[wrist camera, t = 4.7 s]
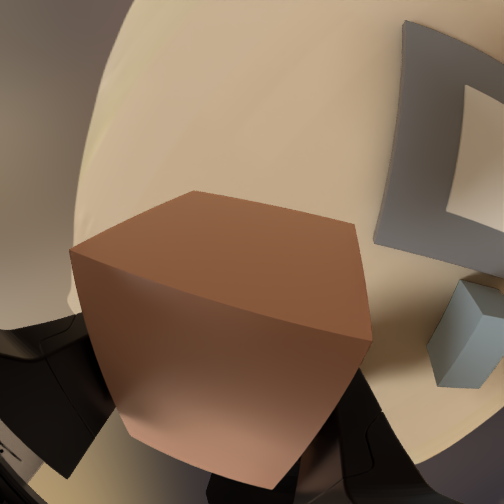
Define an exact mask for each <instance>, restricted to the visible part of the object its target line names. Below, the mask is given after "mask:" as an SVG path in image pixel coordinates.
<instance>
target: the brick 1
mask: <svg viewBox="0 0 504 504" xmlns="http://www.w3.org/2000/svg"><path fill="white" fill-rule="evenodd" d="M69 253H70V258H71V264H72V270H73V275H74V279H75V284H76V289H77V293H78V297H79V301H80V305H81V309H82V313H83V317H84V320H85V324H86V327H87V330H88V334H89V337H90V340H91V343H92V346H93V349H94V352H95V355H96V358H97V361H98V364H99V366H100V369H101V372H102V374H103V377H104V379H105V382H106V384H107V387H108V389H109V392H110V394H111V396H112V399H113V401H114V403H115V405H116V407H117V410H118V411H119V414H120V416H121V418H122V420H123V422H124V424H125V426H126V428H127V430H128V432H129V434H130V436H132V437H134V438H136V439H138V440H140V441H141V442H143V443H145V444H147V445H149V446H151V447H153V448H155V449H157V450H159V451H161V452H163V453H166V454H168V455H170V456H172V457H174V458H176V459H179V460H181V461H184V462H186V463H188V464H191V465H193V466H196V467H198V468H201V469H204V470H206V471H209V472H212V473H215V474H218V475H221V476H224V477H227V478H230V479H233V480H236V481H240V482H243V483H247V484H251V485H254V486H258V487H262V488H267V489H271V490H272V489H273V488H274V487H275V486H276V485H277V484H278V483H279V481H280V480H281V479H282V478H283V477H284V476H285V474H286V473H287V472H288V471H289V470H290V468H291V467H292V466H293V465H294V464H295V462H296V461H297V460H298V458H299V457H300V456H301V455H302V453H303V452H304V451H305V449H306V448H307V447H308V445H309V444H310V443H311V441H312V440H313V439H314V437H315V436H316V435H317V433H318V432H319V430H320V429H321V427H322V426H323V425H324V423H325V422H326V420H327V419H328V417H329V416H330V414H331V413H332V411H333V410H334V408H335V407H336V405H337V403H338V402H339V400H340V399H341V397H342V395H343V394H344V392H345V390H346V389H347V387H348V385H349V384H350V382H351V380H352V379H353V377H354V375H355V373H356V372H357V370H358V368H359V366H360V365H361V363H362V361H363V359H364V357H365V355H366V353H367V351H368V350H369V348H370V346H371V344H372V342H373V338H372V328H371V320H370V311H369V304H368V297H367V290H366V283H365V277H364V271H363V265H362V260H361V254H360V249H359V244H358V239H357V234H356V229H355V225H354V224H351V223H347V222H343V221H339V220H335V219H331V218H326V217H322V216H318V215H314V214H309V213H305V212H300V211H296V210H291V209H287V208H282V207H277V206H273V205H268V204H263V203H258V202H253V201H248V200H243V199H238V198H233V197H227V196H222V195H216V194H211V193H205V192H199V191H191V192H189V193H186V194H184V195H182V196H179V197H177V198H175V199H172V200H170V201H168V202H165V203H163V204H161V205H159V206H156V207H154V208H152V209H150V210H147V211H145V212H143V213H141V214H139V215H137V216H134V217H132V218H130V219H128V220H126V221H124V222H122V223H120V224H118V225H116V226H114V227H112V228H109V229H107V230H105V231H103V232H102V233H100V234H98V235H96V236H94V237H92V238H90V239H88V240H86V241H84V242H82V243H80V244H78V245H77V246H75V247H73V248H71V249H69Z"/></svg>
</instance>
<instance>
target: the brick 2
mask: <svg viewBox="0 0 504 504" xmlns="http://www.w3.org/2000/svg"><path fill="white" fill-rule="evenodd" d="M427 350H428V353H429V357H430V360H431V364H432V368H433V372H434V376H435V380H436V384H437V387H451V388H475V389H479V388H480V387H481V386H482V384H483V383H484V382H485V381H486V379H487V378H488V377H489V375H490V374H491V373H492V371H493V370H494V369H495V367H496V366H497V364H498V363H499V361H500V360H501V359H502V357H503V356H504V295H503V294H502V293H501V291H500V290H498V289H494V288H491V287H487V286H483V285H479V284H476V283H472V282H468V281H464V280H459V282H458V285H457V287H456V289H455V292H454V294H453V296H452V298H451V300H450V303H449V305H448V307H447V309H446V311H445V313H444V315H443V317H442V319H441V321H440V323H439V325H438V326H437V328H436V330H435V332H434V334H433V336H432V337H431V339H430V341H429V343H428V344H427Z"/></svg>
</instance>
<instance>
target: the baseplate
mask: <svg viewBox="0 0 504 504" xmlns="http://www.w3.org/2000/svg"><path fill="white" fill-rule="evenodd" d="M373 242H374V244H377V245H382V246H386V247H390V248H394V249H398V250H402V251H406V252H410V253H414V254H418V255H421V256H425V257H429V258H433V259H437V260H440V261H444V262H448V263H452V264H455V265H459V266H462V267H466V268H469V269H473V270H476V271H480V272H483V273H487V274H490V275H494V276H497V277H500V278H504V64H502V63H501V62H499V61H497V60H496V59H494V58H492V57H490V56H489V55H487V54H485V53H483V52H481V51H479V50H477V49H475V48H474V47H472V46H470V45H467V44H465V43H463V42H461V41H459V40H457V39H455V38H452V37H450V36H448V35H445V34H443V33H440V32H438V31H435V30H433V29H430V28H427V27H425V26H422V25H419V24H416V23H413V22H410V21H407V20H405V22H404V23H403V25H402V66H401V81H400V93H399V103H398V112H397V120H396V128H395V135H394V141H393V148H392V153H391V159H390V165H389V170H388V175H387V180H386V185H385V190H384V194H383V199H382V203H381V207H380V212H379V216H378V220H377V224H376V228H375V231H374V235H373Z"/></svg>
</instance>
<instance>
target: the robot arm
mask: <svg viewBox="0 0 504 504" xmlns="http://www.w3.org/2000/svg"><path fill="white" fill-rule="evenodd" d="M115 407H116V405H115V403H114V401H113V399H112V396H111V394H110V392H109V389H108V387H107V384H106V382H105V379H104V377H103V374H102V372H101V369H100V366H99V364H98V361H97V358H96V355H95V352H94V349H93V346H92V343H91V340H90V337H89V334H88V330H87V327H86V324H85V320H84V317H83V313H82V312H81V313H78V314H76V315H75V314H74V315H71V316H68V317H64V318H61V319H57V320H54V321H50V322H46V323H41V324H37V325H32V326H27V327H23V328H18V329H13V330H1V329H0V504H48V503H47V502H45V501H44V500H43V499H42V498H41V497H40V496H39V495H38V494H37V493H36V492H35V491H34V490H33V489H32V488H31V487H30V486H29V485H28V482H29V481H30V480H31V479H32V477H33V476H34V475H35V474H36V472H37V471H38V470H39V469H40V467H41V466H42V465H43V464H44V462H45V463H46V464H48V465H49V466H50V467H51V468H53V469H54V470H55V471H56V472H58V473H59V474H60V475H62V476H63V477H64V478H66V479H68V478H69V477H70V476H71V474H72V472H73V471H74V469H75V468H76V466H77V465H78V463H79V462H80V460H81V459H82V457H83V456H84V454H85V453H86V451H87V449H88V448H89V447H90V445H91V444H92V442H93V441H94V439H95V437H96V436H97V434H98V433H99V431H100V430H101V428H102V427H103V425H104V424H105V422H106V421H107V419H108V418H109V416H110V415H111V413H112V412H113V411H114V409H115ZM206 496H207V500H208V503H209V504H464V503H461V502H459V501H456V500H454V499H451V498H449V497H446V496H444V495H442V494H440V493H438V492H436V491H435V490H434V489H433V488H432V487H430V486H429V484H427V482H426V481H425V480H424V478H423V477H422V475H421V474H420V472H419V470H418V469H417V468H416V466H415V464H414V463H413V461H412V460H411V458H410V457H409V455H408V454H407V452H406V451H405V449H404V448H403V446H402V445H401V443H400V441H399V440H398V438H397V437H396V435H395V433H394V431H393V430H392V428H391V426H390V424H389V422H388V420H387V418H386V417H385V415H384V413H383V412H382V409H381V407H380V405H379V403H378V401H377V399H376V398H375V396H374V394H373V392H372V390H371V388H370V386H369V384H368V383H367V381H366V379H365V377H364V375H363V373H362V371H361V370H360V368H358V370H357V372H356V373H355V375H354V377H353V379H352V380H351V382H350V384H349V385H348V387H347V389H346V390H345V392H344V394H343V395H342V397H341V399H340V400H339V402H338V403H337V405H336V407H335V408H334V410H333V411H332V413H331V414H330V416H329V417H328V419H327V420H326V422H325V423H324V425H323V426H322V427H321V429H320V430H319V432H318V433H317V435H316V436H315V437H314V439H313V440H312V441H311V443H310V444H309V445H308V447H307V448H306V449H305V451H304V452H303V453H302V455H301V456H300V457H299V458H298V460H297V461H296V462H295V464H294V465H293V466H292V467H291V468H290V470H289V471H288V472H287V473H286V474H285V476H284V477H283V478H282V479H281V480H280V481H279V483H278V484H277V485H276V486H275V487H274V488H273V489H272V490H271V489H267V488H262V487H258V486H254V485H251V484H247V483H243V482H240V481H236V480H233V479H230V478H227V477H224V476H221V475H218V474H215V473H212V474H211V478H210V481H209V484H208V487H207V490H206Z"/></svg>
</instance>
